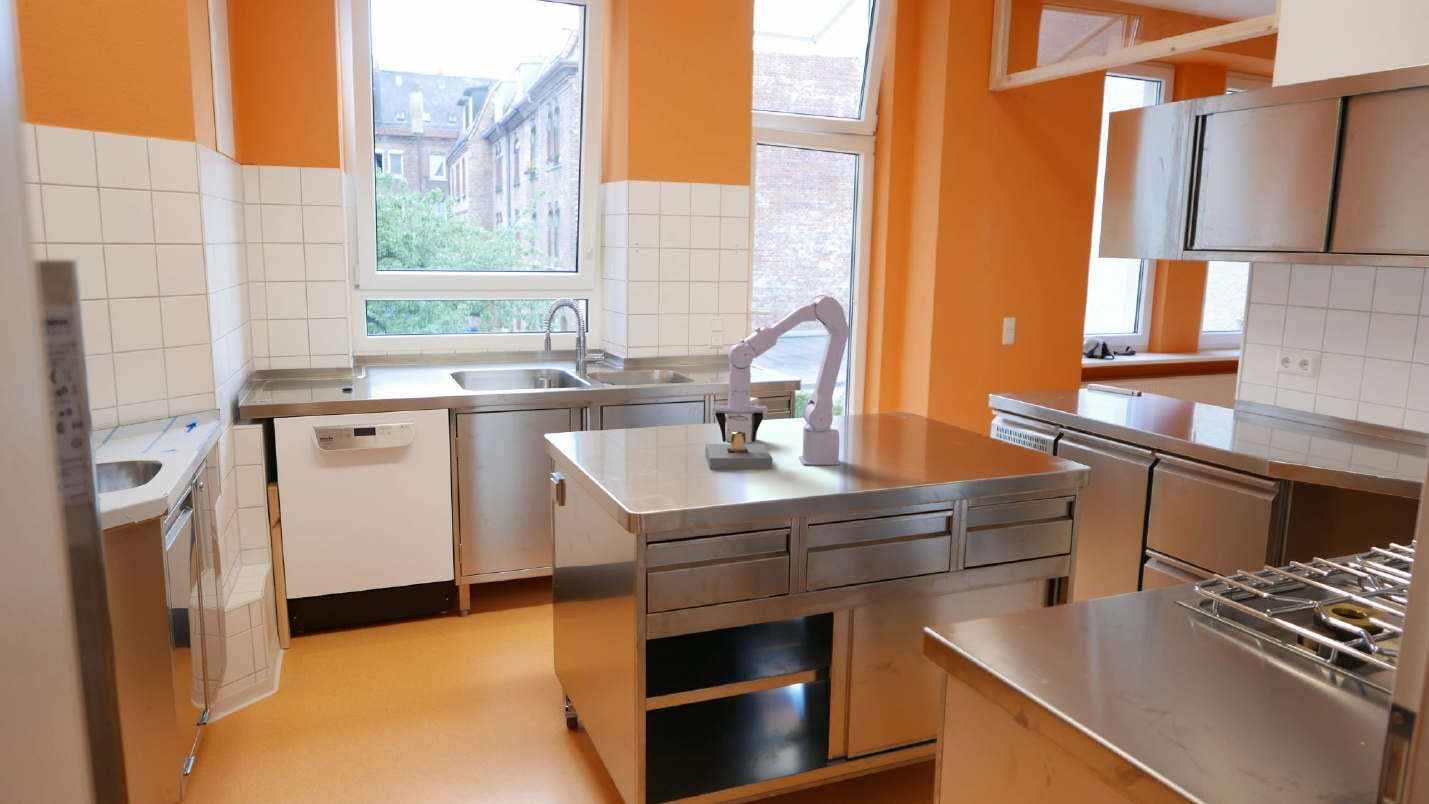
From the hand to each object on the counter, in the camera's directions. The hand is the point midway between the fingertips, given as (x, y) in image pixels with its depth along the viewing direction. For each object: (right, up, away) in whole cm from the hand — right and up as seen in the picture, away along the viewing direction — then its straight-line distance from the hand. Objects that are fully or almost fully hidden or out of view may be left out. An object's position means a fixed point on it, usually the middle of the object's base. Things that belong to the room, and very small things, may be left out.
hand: (738, 441), depth 240 cm
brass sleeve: (0, -6, +1) cm, 6 cm away
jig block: (0, -6, +1) cm, 6 cm away
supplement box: (+2, -1, +27) cm, 27 cm away
